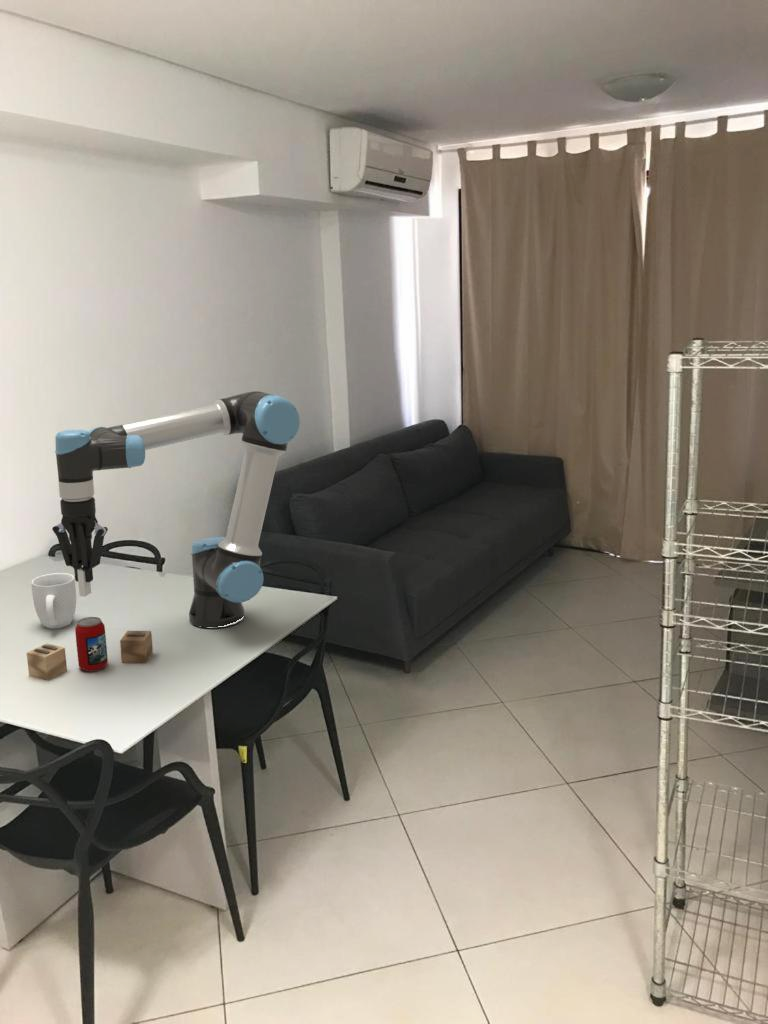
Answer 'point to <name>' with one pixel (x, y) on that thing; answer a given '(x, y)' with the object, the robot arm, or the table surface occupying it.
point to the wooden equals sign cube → (46, 661)
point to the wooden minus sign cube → (136, 646)
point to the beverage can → (91, 644)
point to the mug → (54, 599)
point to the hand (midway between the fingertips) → (85, 594)
